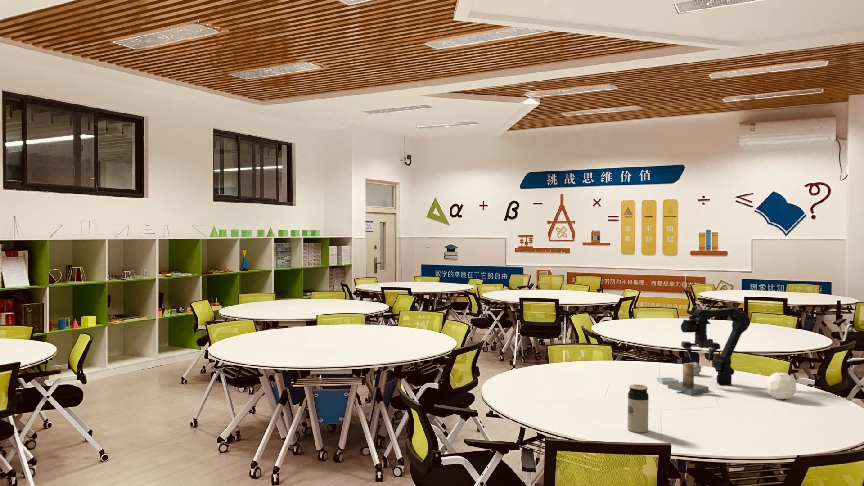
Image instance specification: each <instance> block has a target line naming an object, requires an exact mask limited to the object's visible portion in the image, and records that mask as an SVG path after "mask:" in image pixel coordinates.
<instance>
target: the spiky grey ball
mask: <svg viewBox="0 0 864 486" xmlns="http://www.w3.org/2000/svg"><path fill="white" fill-rule="evenodd" d="M691 363H692V364H694V376H696V375H698V376H700V372H701V373H702V366H701V365H700V362H696V361H694V362H692V361H691Z"/></svg>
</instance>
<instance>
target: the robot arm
mask: <svg viewBox="0 0 864 486" xmlns="http://www.w3.org/2000/svg"><path fill="white" fill-rule="evenodd" d="M716 317H717V318H719V317H728V318H729V319H730V320H731V321H732V322H731V323H732V324H731V327H732V329H731V332H730V334H729V336H728V338H727V340H726V342H725V345H724V347H723V349H722V351H721V353H720V354H715V356H714V359H713V360H712V358H713V355H714V353H715V352H716V351H717V352H718V350H721V344H720V343H718V342H714V339H713V338H708V335H707V329H708V328H707V325H711V322H710V321H709V320H711V319H712V318H716ZM750 325H751V320H750V319H749V317H747V316H745V315H744V314H743V313H741V312H740V311H739V310H737V309H736V308H733V307H727V308H715V309H704V308H695V309H694V311H693V313H692V314H691V316H690V317H689V319H683V320H682V323H681V324H680V330H681V332H682V333H685V334H686V333H689V334H690V333H694V342H690V341H683V340H682V341H681V342H680V343H681V344H680V346H681V347H682V348H683V349H685V350H686V352H687V354H688V357H689V359H690V362H692V361H693V353H692V351H693V348H692V347H694V348H700V349H708V356H707V357H708V362H711V361H713V363H712V366H713V368H714V369H715V371H716V372H717V375H716V383H717V384H718V385H719V386H728V387H729V386H732V387H733V384H732V378H733V376H732V375H734V374H735V369H733V367H732V366H731V365H732V356H733V353H734V351H735V349H736V347H737V345H738V343H739V340H740V338H741V336H742V334H743V333H744V332H746V331H747V330H748V329H749V327H750Z"/></svg>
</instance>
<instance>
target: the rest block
mask: <svg viewBox="0 0 864 486" xmlns="http://www.w3.org/2000/svg"><path fill="white" fill-rule="evenodd" d="M656 382H658V383H659V384H661V385H668V384H672V383H678V382H680V380H679V379H676V377H656Z"/></svg>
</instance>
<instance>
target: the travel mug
mask: <svg viewBox="0 0 864 486" xmlns="http://www.w3.org/2000/svg"><path fill="white" fill-rule="evenodd" d="M628 388H629V391H628V393H627V430H628V431H630V432H632V433H639V434H641V433H642V434H643V433H644V434H645V433H647V432H648V431H649V397H650V395H649V393H648V389H649V387H648V385H645V384H639V383H638V384H636V383H635V384H634V383H632V384H629V385H628Z"/></svg>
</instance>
